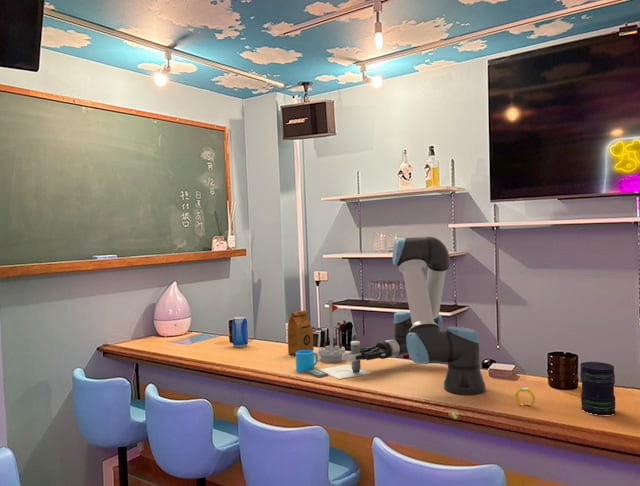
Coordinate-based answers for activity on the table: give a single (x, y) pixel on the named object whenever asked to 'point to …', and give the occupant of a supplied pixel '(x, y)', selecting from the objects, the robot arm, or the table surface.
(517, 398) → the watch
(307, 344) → the coffee package
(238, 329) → the beer can
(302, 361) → the mug
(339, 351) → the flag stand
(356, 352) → the marker
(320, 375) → the dark grey flat block
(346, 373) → the paper
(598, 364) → the storage jar
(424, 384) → the table surface
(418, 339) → the robot arm
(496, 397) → the table surface
